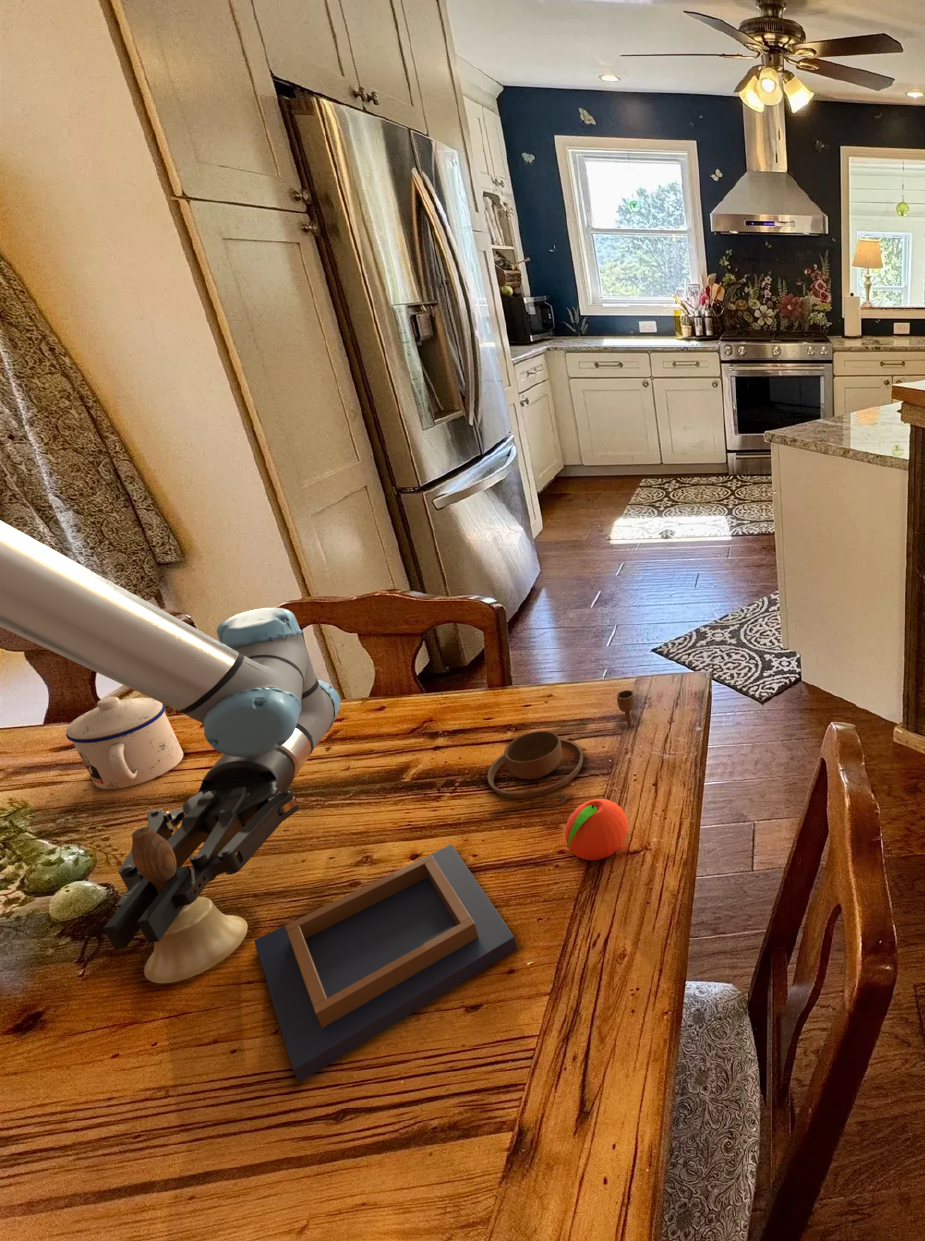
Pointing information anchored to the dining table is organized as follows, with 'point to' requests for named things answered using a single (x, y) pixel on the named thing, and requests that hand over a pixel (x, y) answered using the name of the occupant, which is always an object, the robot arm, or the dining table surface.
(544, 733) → the place setting
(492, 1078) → the dining table surface
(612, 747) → the dining table surface
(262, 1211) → the dining table surface
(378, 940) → the bell stand
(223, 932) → the hand bell
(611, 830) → the clementine
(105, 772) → the teacup with lid
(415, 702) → the dining table surface
